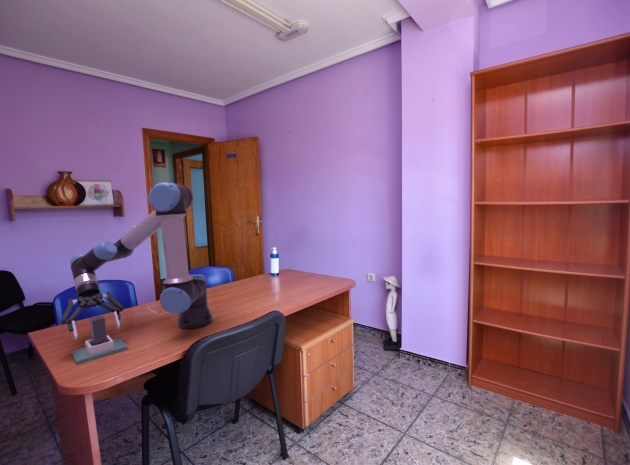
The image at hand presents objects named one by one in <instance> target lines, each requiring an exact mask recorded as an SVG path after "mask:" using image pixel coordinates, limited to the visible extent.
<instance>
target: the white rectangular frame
mask: <svg viewBox="0 0 630 465" xmlns="http://www.w3.org/2000/svg"><path fill="white" fill-rule="evenodd" d="M157 306H161V304H160V303H159V304H157V305H155V307H157ZM152 307H154V305H152V306H147V309H148V310H149V311H150V312H153V313H154V314H156V315H157V316H160V315H164V314H169V312H167V311H166V312H163V313H157V312H156V311H153V310H152V309H151V308H152Z"/></svg>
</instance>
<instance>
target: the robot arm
mask: <svg viewBox="0 0 630 465" xmlns="http://www.w3.org/2000/svg"><path fill="white" fill-rule="evenodd" d="M148 201H149V204H150V206H151V207H152V209H154V210H153V211H152V212H150V213H149V214H148V215H147V216H146V217H144V218H143V219H142V220H141V221H140V222H138V223H137V224H136V225H134V227H132V228H131V229H130V230H129V231H128V232H126V233H125V234H123V236H122V237H121V238H119V239H118V240H117V241H116V242H114V243H112V242H111V241H108V240H103V241H101V242H99V243H97V244H96V245H95V246H94V247H92V249H91V250H89V251H88V252H87V253H79V254H77V255H73V256H72V257H71V259H70V261H69V262H70V271H71V273H72V274H71V275H72V278H73V282H74V286H75V291H76V296H77V299H73V298H69V299H68V305H67V307H66V309H65V311H64V313H63V315H62V318H61V319H60V324H61V325H67V328H68V331H69V332H72V334H73V339H74V340H78V332H77V327H76V322H75V321H76V319H77V317H78V316H79V315H80V314H81V312H82V311H83V310H84V309H85V308H86V309H91V308H95V307H96V308H97V306H98V307H99V308H100V307H101V308H103V309H105V310H107V311H109V312H111V313H113V318H114V322H115V326H116V329H118V330H119V329H120V328H121V323H120V320H121V318H122V317H121V316H122V315H121V313H122V312H123V311H124V305H123V304H121V303H120V302H119V301H118V300H117V299H116V298H114V297H113V296H112V295H111V293H110V291H106V293H104V294H103V293H101V290H100V287H99V284H98V279H97V275H96V271H97V270H98V269H99V268H101V267H102V266H103V265H105V264H106V263H110V262H113V261H117V260H121V259H125V258H128V257H130V256H131V255H132V254H134V253H133V252H134V250H135V249H136V248H138V247H139V246H140V245H142V244H143V243H144V242H145V241H146V240H147V239H149V238H150V237H151V236H152V235H154V234H155V232H158V230H160V229H161V236H162V237H161V238H162V246H163V255H164V265H165V266H164V268H165V273H166V274H165V275H166V278H165V279H164V280H163V282H162V284H163V286H162V287H163V291H162V292H161V293H160V296H159V305H160V304H161V305H160V307H162V309H163V310H164V311H166V312H168V314H172V315H177V314H178V319H177V327H178V328H180V329H186V330H188V329H189V330H191V329H192V330H193V329H199V328H202V327H205V326H208V325H210V324H211V323H212V322H213V315H212V313H211V312H212V311H211V310H210V309H209V308H210V307H209V305H208V294H207V293H208V292H207V280H206V276H205V275H204V274H201V273H200V274H198V273H197V274H196V273H195V274H189V265H188V263H189V262H188V255H187V254H188V253H187V246H186V244H187V243H186V237H185V236H186V235H185V226H184V218H185V217H186V216H187V210H188V209H189V208H190V207H191V206H192V204H193V202H194V195H193V192H192V190H191V189H190V188H189V187H188V186H187V185H184V184H182V183H174V182H170V181H168V182H167V181H165V182H159V183H156V184H154V185H153V186H152V188H151V189H150V190H149V193H148ZM104 299H105V300H106V301H108V302H106V301H105V300H104ZM76 304H78V307H77V308H76V309H75V311H73V313H72V314H71V311H72V309H73V307H74V306H76ZM70 314H71V315H70ZM69 316H70V317H69Z"/></svg>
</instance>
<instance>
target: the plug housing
mask: <svg viewBox="0 0 630 465" xmlns="http://www.w3.org/2000/svg"><path fill="white" fill-rule="evenodd" d="M89 328H90V338H91V339H92V346H95V345H98V344H102V343H106V342H107V336H106V335H107V328H106V318H105V317H104V316H103V314H101V315H97V316H92V317H89ZM91 339H90V340H91Z"/></svg>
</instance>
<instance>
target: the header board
mask: <svg viewBox="0 0 630 465" xmlns="http://www.w3.org/2000/svg"><path fill="white" fill-rule="evenodd" d="M106 336H107V342H106V343H102V344H98V345H95V346H92V339H88V340H85V342H84V343H85V346H84V347H82V348H81V347H80V348H77V349H73V350H71V355H72V356H73V359H74V362H75V364H76V365H79V364H80V365H81V364H82V363H83V364H84V363H87V362H90V361H92V360H93V361H94V360H96V359H100V358H103V357H106V356H110V355H113V354H117V353H119V352H123V351H126V350H128V349H129V348H128V345H127V344H126V343H125V342H124V340H122V338H120V337H118V338H114V339H113V338H112V337H110V335H109V334H106Z"/></svg>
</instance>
